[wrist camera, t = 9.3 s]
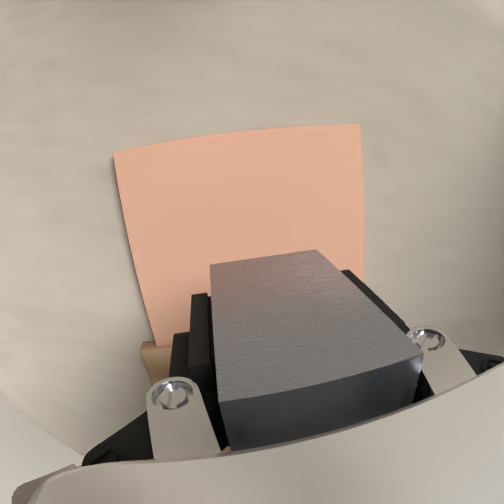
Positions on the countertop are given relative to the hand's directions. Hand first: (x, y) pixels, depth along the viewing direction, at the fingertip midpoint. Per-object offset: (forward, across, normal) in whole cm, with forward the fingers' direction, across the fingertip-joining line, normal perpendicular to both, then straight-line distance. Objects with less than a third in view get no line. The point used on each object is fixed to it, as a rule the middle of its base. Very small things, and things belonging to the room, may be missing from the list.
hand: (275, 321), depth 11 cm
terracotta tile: (+7, 0, 0) cm, 7 cm away
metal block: (+1, 0, 0) cm, 1 cm away
